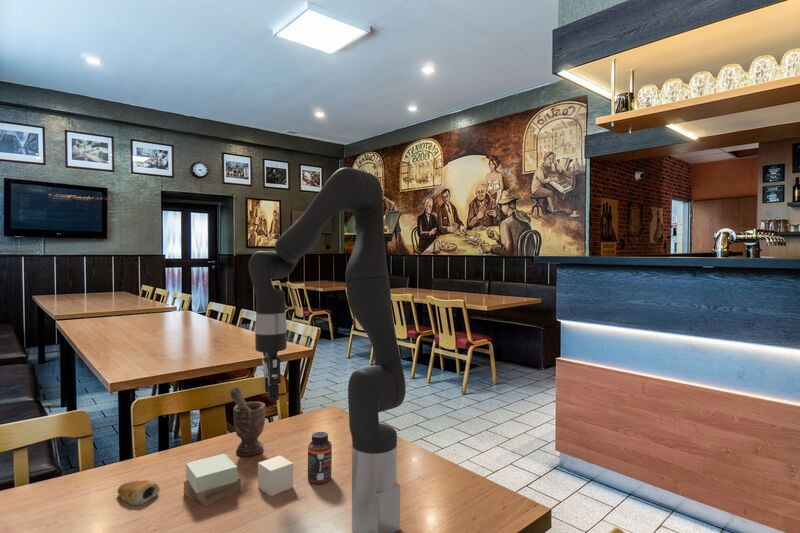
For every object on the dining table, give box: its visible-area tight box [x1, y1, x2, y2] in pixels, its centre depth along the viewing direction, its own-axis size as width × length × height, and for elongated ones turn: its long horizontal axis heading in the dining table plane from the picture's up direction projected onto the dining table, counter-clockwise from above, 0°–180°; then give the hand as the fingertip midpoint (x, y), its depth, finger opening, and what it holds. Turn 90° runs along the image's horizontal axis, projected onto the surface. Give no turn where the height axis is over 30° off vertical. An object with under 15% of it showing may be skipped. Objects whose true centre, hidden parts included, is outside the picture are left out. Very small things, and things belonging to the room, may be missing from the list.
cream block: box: [257, 455, 294, 497], centre depth 113 cm, size 6×6×6 cm
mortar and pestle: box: [229, 387, 266, 458], centre depth 131 cm, size 12×9×20 cm
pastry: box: [116, 479, 160, 506], centre depth 108 cm, size 9×7×4 cm
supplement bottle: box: [307, 431, 333, 485], centre depth 117 cm, size 6×6×11 cm
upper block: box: [185, 453, 238, 493], centre depth 110 cm, size 9×9×4 cm
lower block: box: [183, 475, 242, 508], centre depth 110 cm, size 9×9×4 cm
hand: (271, 395), depth 116 cm, fingers open, 8 cm apart
